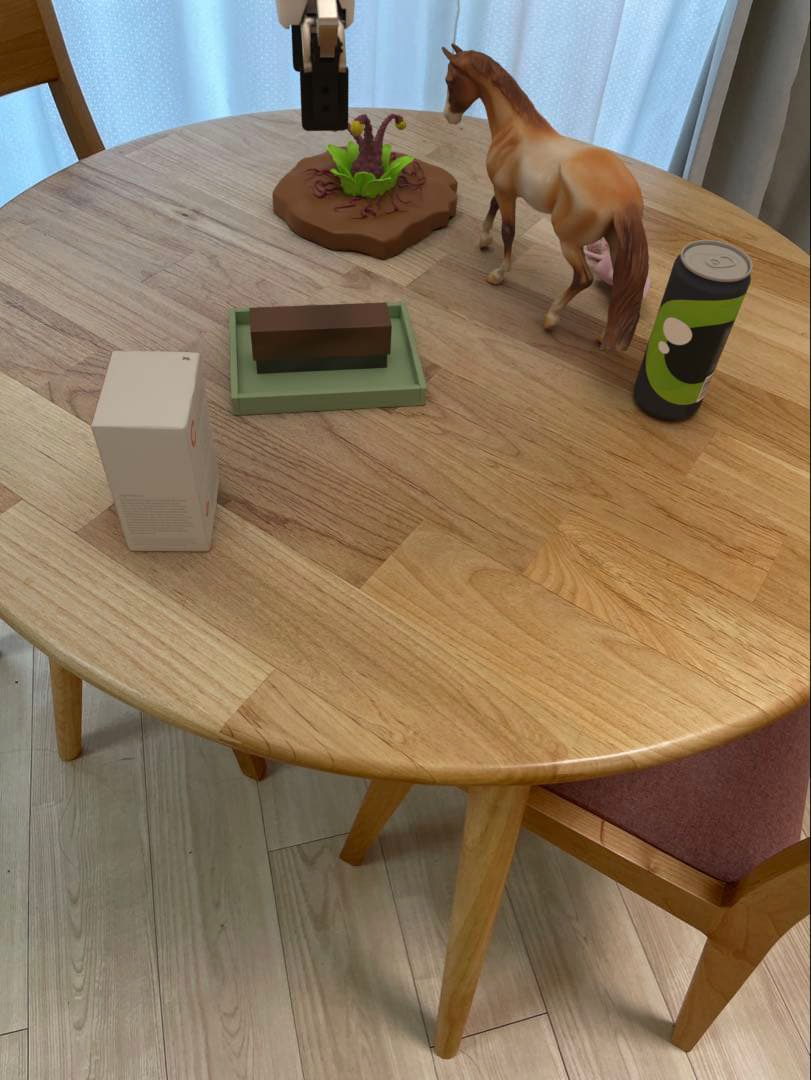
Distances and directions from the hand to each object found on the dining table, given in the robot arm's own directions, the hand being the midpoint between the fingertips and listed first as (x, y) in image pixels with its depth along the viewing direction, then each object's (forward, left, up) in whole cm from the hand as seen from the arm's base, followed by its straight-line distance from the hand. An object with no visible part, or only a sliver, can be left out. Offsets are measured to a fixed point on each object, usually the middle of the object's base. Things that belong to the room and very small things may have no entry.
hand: (319, 98), depth 64 cm
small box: (-13, -18, -24) cm, 33 cm away
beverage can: (+31, -8, -24) cm, 40 cm away
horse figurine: (+20, +7, -24) cm, 32 cm away
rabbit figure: (+32, +12, -24) cm, 42 cm away
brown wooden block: (0, 0, -24) cm, 24 cm away
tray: (0, 0, -24) cm, 24 cm away
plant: (+7, +28, -24) cm, 38 cm away
